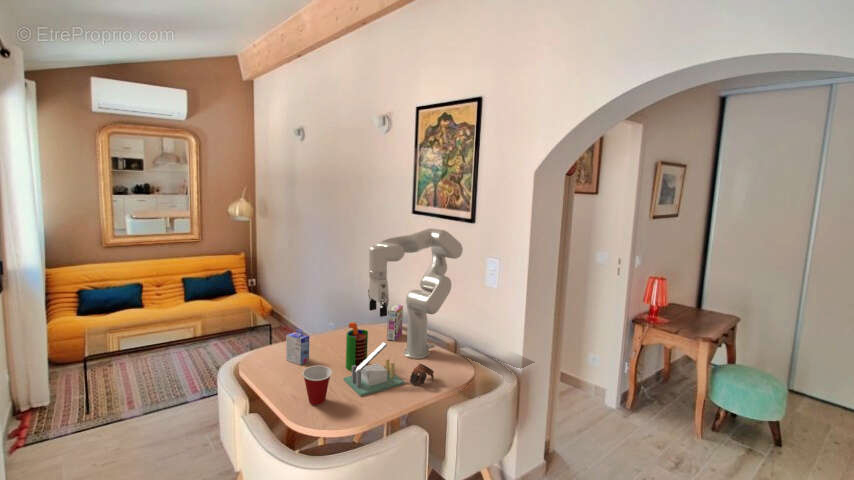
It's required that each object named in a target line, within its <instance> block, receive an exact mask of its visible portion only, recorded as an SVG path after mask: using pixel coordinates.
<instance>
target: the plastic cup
mask: <svg viewBox="0 0 854 480" xmlns="http://www.w3.org/2000/svg"><path fill="white" fill-rule="evenodd" d="M301 375H302V377H303V380H304V383H305V387H306V388H305V389H306V395H307V398H308V403H309V404H311V405H312V406H318V405H319V406H320V405H323V404H325V402H326V398H327V397H326V396H327V393H328V387H329V384H330V383H329V381H330V379H331V376H332V375H333V370H332V369H331V368H330V367H328V366H325V365H312V366H308V367H306V368H304V369H303V371H302V374H301Z"/></svg>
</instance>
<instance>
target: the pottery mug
mask: <svg viewBox="0 0 854 480" xmlns="http://www.w3.org/2000/svg"><path fill="white" fill-rule="evenodd" d="M434 373H435V371H434V370H433V369H432V368H430V367H428V366H427V365H424V364H423V363H418V366H416V367H414V368H413V370H412V371H411V374H410V377H409V382H410V383H411V385H413V386H415V387H416V386H417V385H418V386H419V385H420V386H423V385H424V383H425V381H426V379H427V375H428V376H430V377H431V382H433V381H434Z"/></svg>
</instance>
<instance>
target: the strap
mask: <svg viewBox="0 0 854 480" xmlns="http://www.w3.org/2000/svg"><path fill="white" fill-rule="evenodd" d="M387 346H388V344H387V343H386V342H382V343H381V344H380V345H379V346H377V348H375V349H374V351H372V353H370V354H369V355H367V358H366V359H365V360H364V361H363V362H362V363H361V364H360V365H359V366H358V367H357V368H356V369H354V372H355V373H356V370H358V369H360V370H362V369H363V368H364V367H365V366H368V365H369V364H370V362H371V361H373V360H374V358H376V357H377V356H378V355H379V354H380V353H381V352H382V351H383V350H384V349H385V348H386V347H387Z"/></svg>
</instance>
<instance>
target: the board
mask: <svg viewBox="0 0 854 480" xmlns="http://www.w3.org/2000/svg"><path fill="white" fill-rule="evenodd" d="M384 365H385V367H384V366H383V365H381V364H380V363H373V364H370V365H369V364H367V365H366V366H365V367H364V368H363V369H362V370H360V369H358V370H356V373H355V372H354V369H356V367H357V366H356V365H353V366H352V371H351V375H348V376H345V377H343V381H344V382H345V383H346V384H347V385H348V386H349V387H350V389H352V390H353V391H354V392H355V393H356V394H357V395H358V396H359V397H364V396H368V395H370V394H374V393H377V392H382V391H384V390H388V389H392V388H395V387H398V386H401V385H405V381H404V379H402V378H400V377H399V376H398V375H396V374H395V362H394V361H391V362H390V358H389V357H388V358H385V364H384Z"/></svg>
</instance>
